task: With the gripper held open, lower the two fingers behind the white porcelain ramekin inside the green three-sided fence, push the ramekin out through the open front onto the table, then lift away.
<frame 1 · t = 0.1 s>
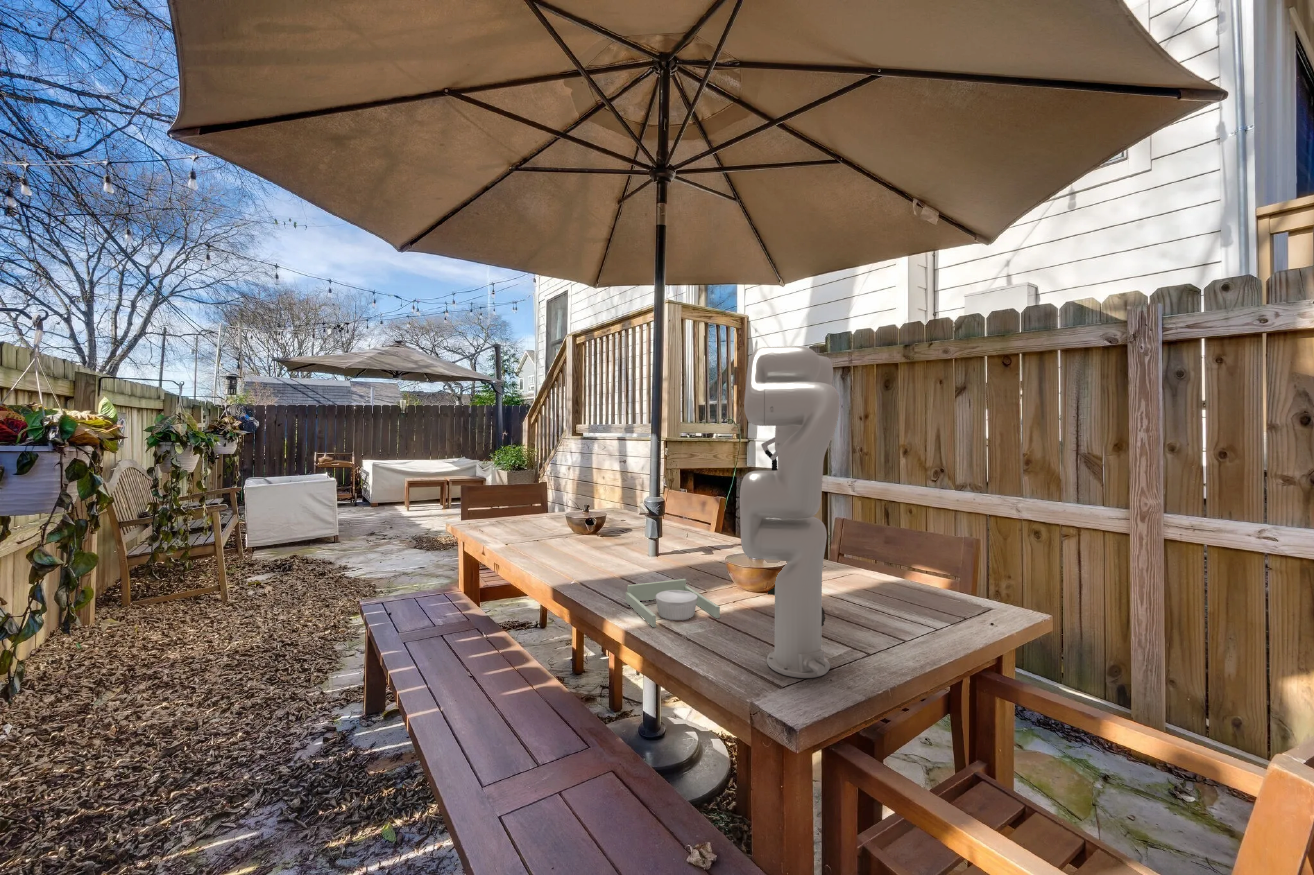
hand: (794, 475, 146), 37 cm above the table, tool pointing down, fingers open, 9 cm apart
ramekin: (676, 616, 146), on the table
green three-sided fence: (673, 612, 148), on the table
wood: (810, 621, 143), on the table
wine bottle: (777, 592, 167), on the table
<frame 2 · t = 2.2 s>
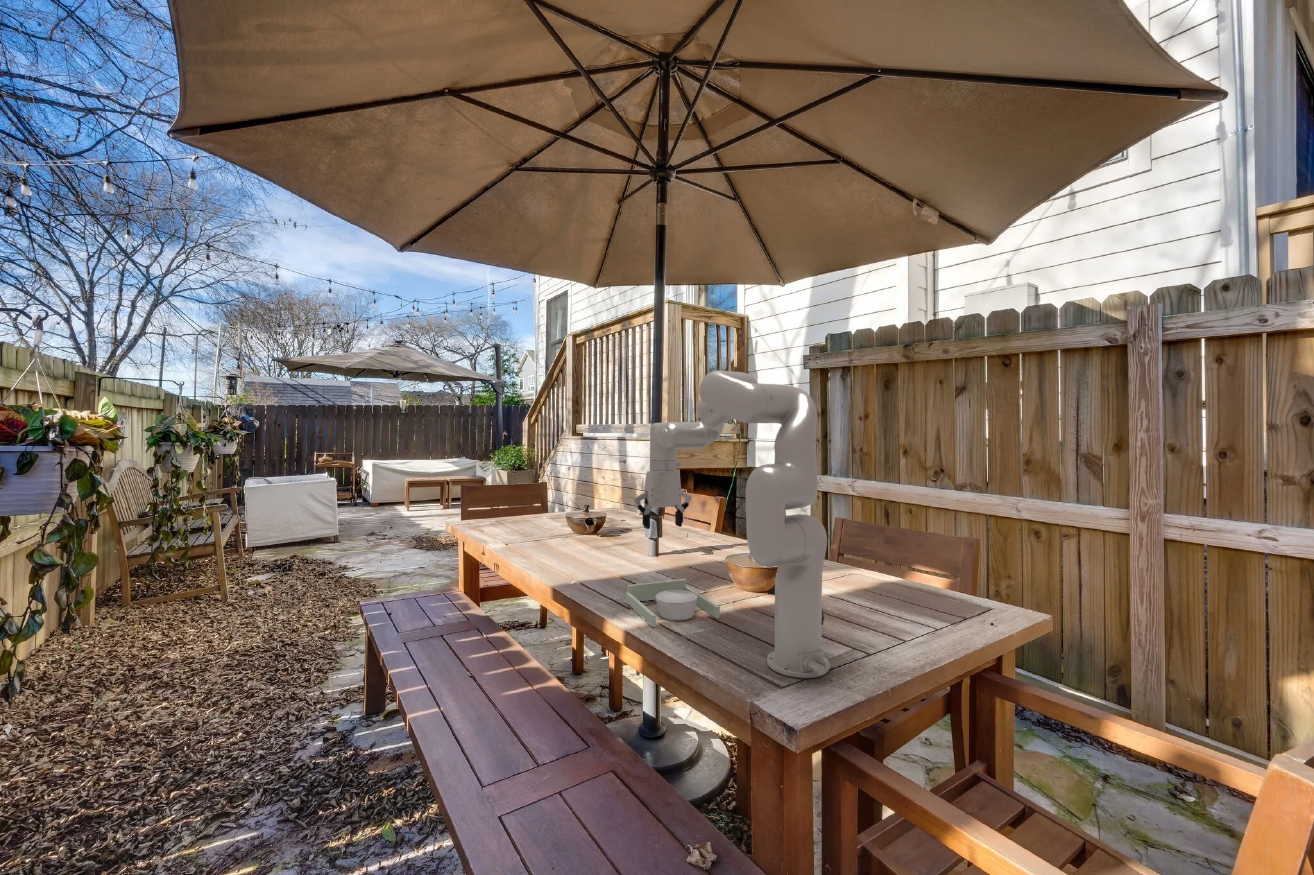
hand: (662, 527, 155), 22 cm above the table, tool pointing down, fingers open, 9 cm apart
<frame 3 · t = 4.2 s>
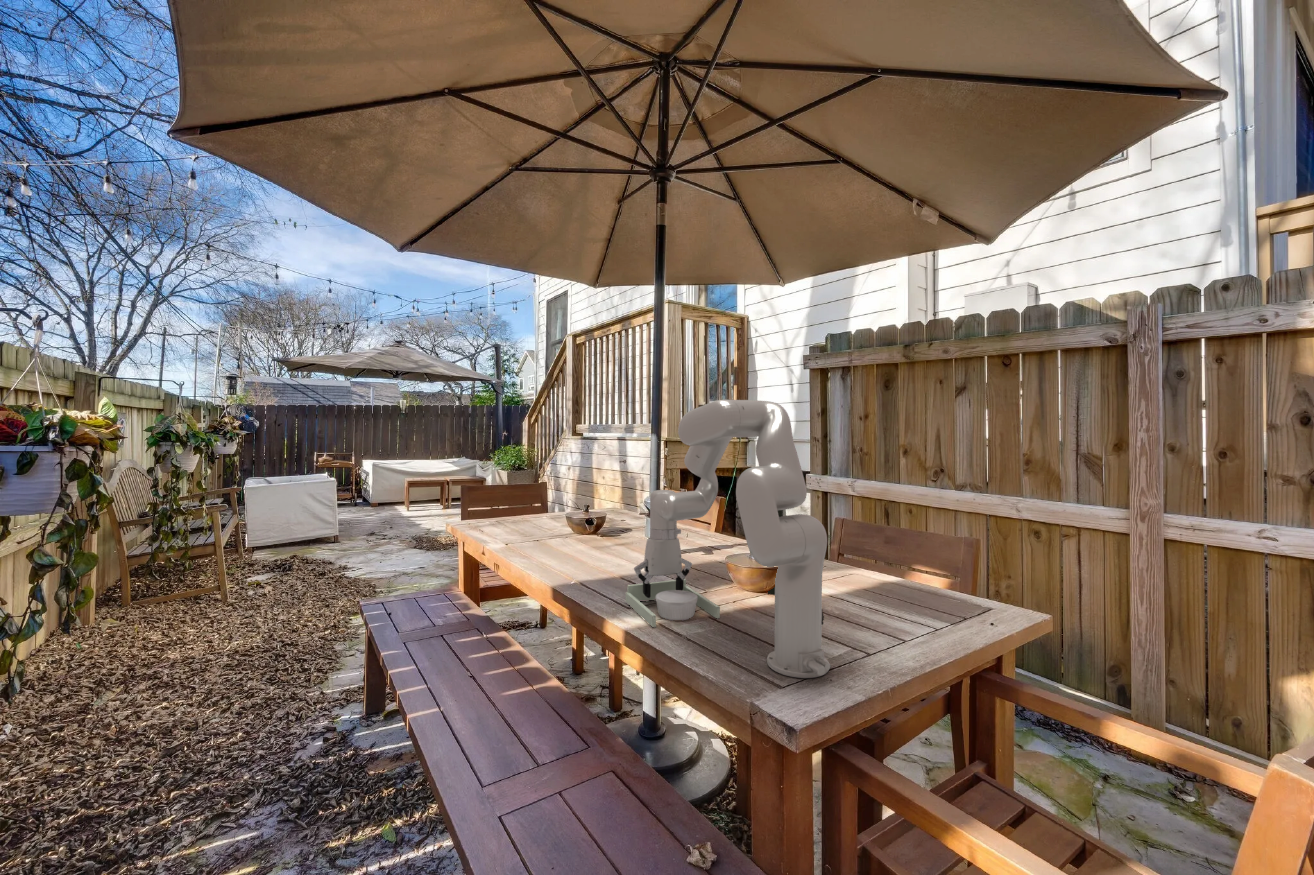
hand: (663, 594, 155), 3 cm above the table, tool pointing down, fingers open, 9 cm apart
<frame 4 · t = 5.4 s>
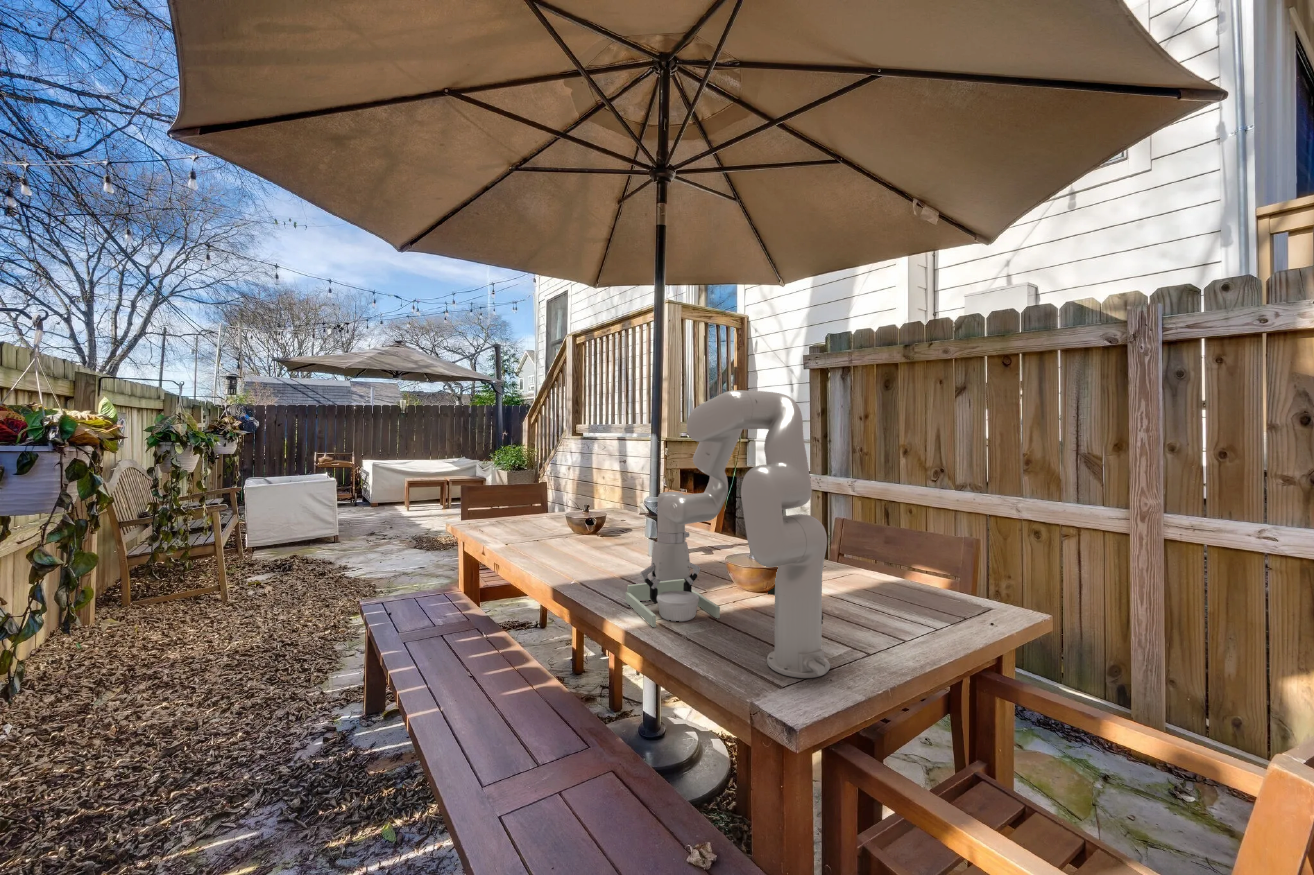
hand: (670, 600, 150), 3 cm above the table, tool pointing down, fingers open, 9 cm apart
ramekin: (677, 616, 145), on the table, touching gripper
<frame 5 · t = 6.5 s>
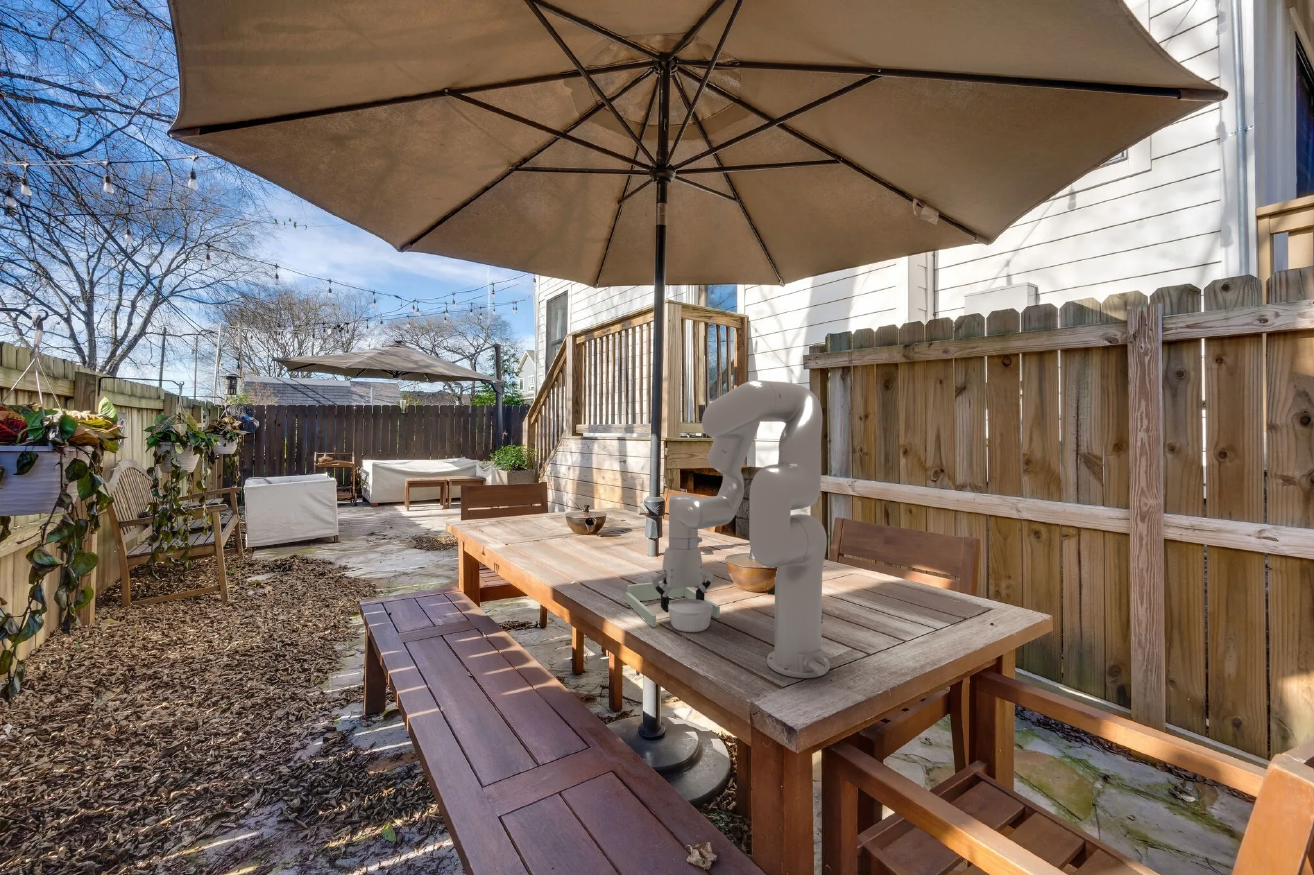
hand: (682, 608, 142), 3 cm above the table, tool pointing down
ramekin: (690, 626, 138), on the table, touching gripper
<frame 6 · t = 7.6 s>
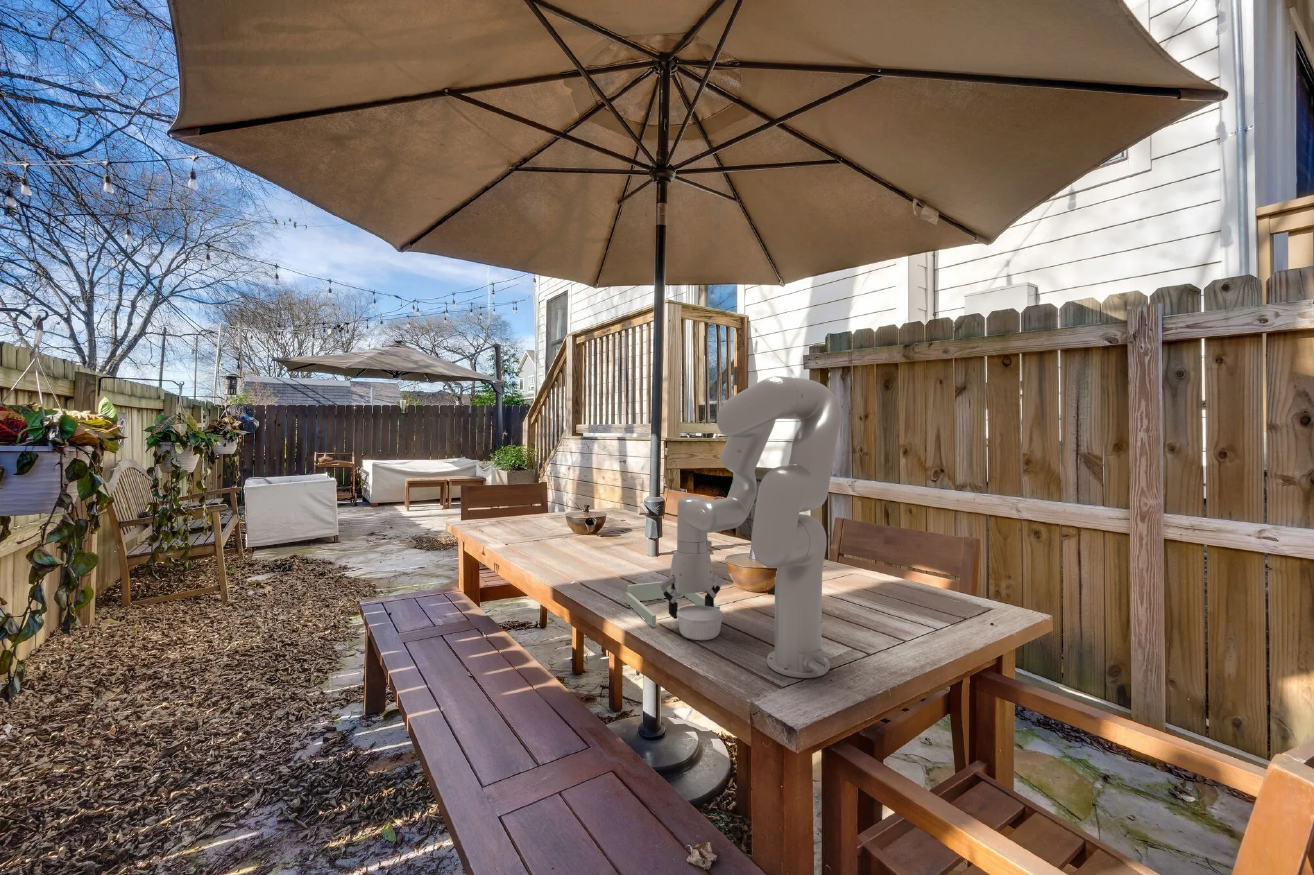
hand: (691, 614, 137), 3 cm above the table, tool pointing down
ramekin: (699, 634, 133), on the table, touching gripper
when the fingers open (3 cm above the table, at t = 8.4 s): ramekin stays where it is, on the table.
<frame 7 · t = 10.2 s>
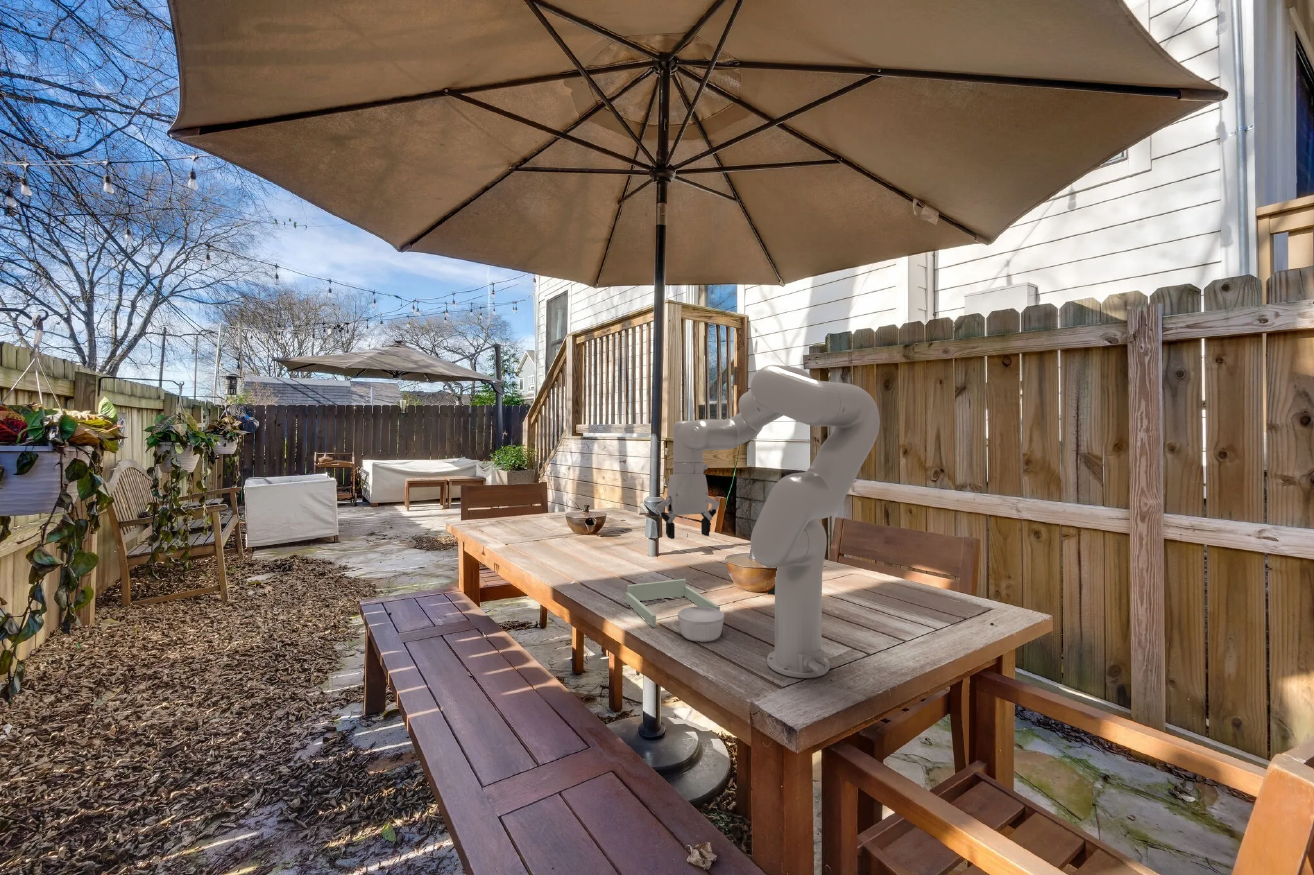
hand: (688, 536, 139), 22 cm above the table, tool pointing down, fingers open, 9 cm apart
ramekin: (701, 636, 132), on the table
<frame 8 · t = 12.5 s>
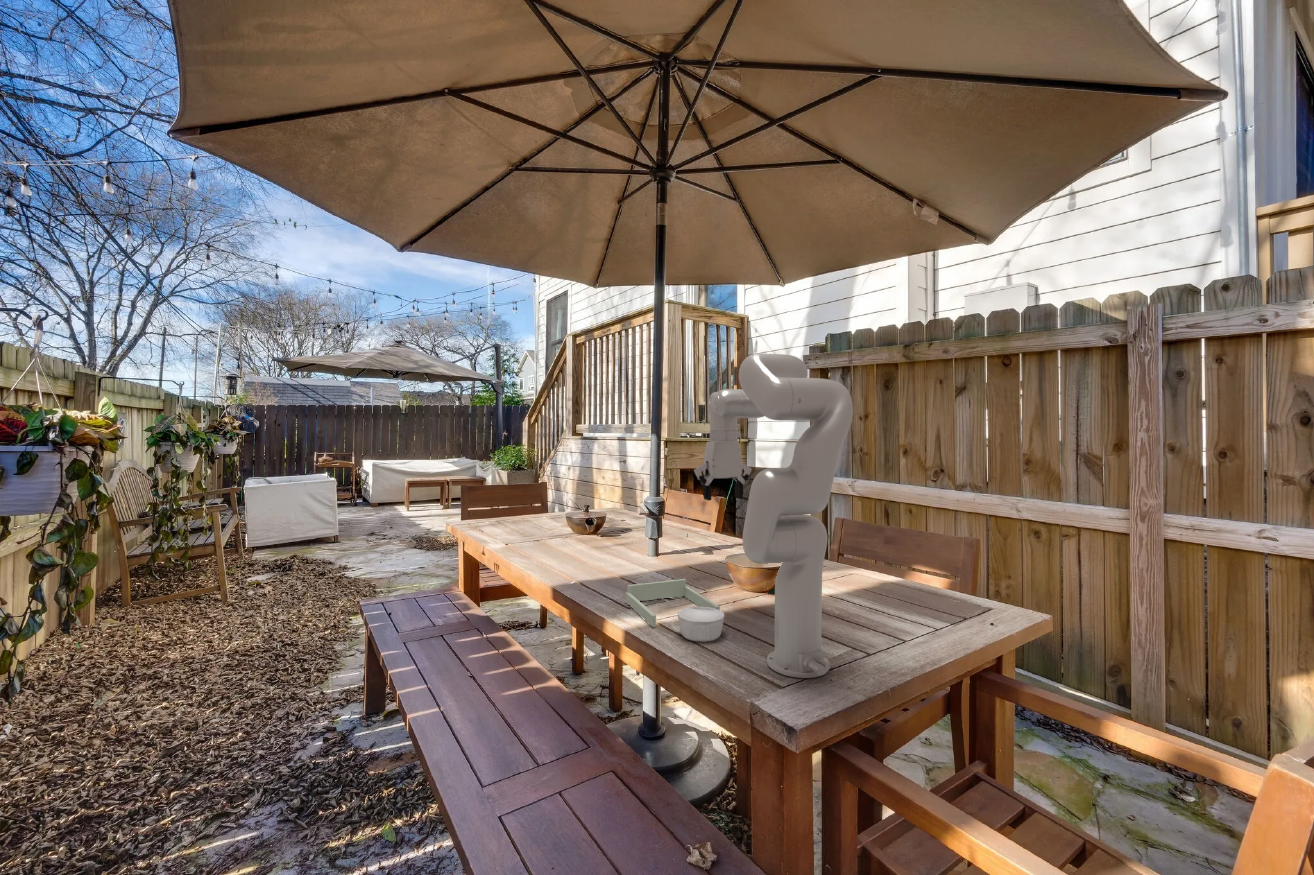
hand: (723, 499, 151), 30 cm above the table, tool pointing down, fingers open, 9 cm apart
at the end: ramekin inside the target area (2.4 cm from its centre), on the table; ramekin tilted 0° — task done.
